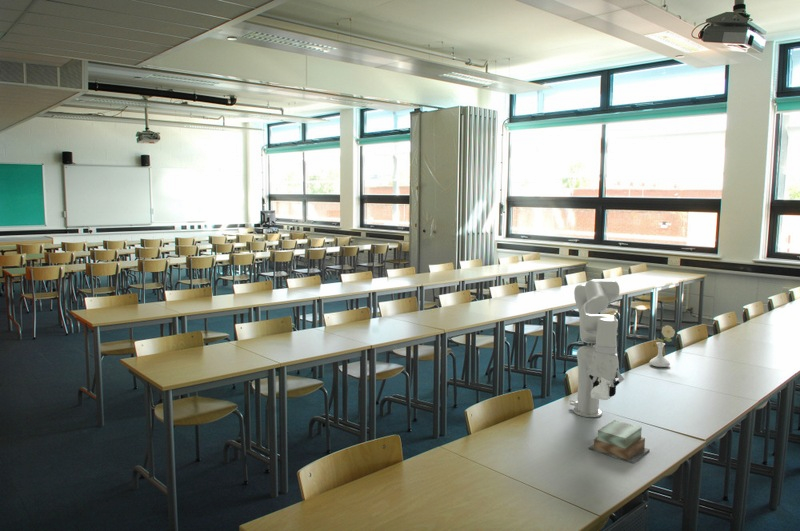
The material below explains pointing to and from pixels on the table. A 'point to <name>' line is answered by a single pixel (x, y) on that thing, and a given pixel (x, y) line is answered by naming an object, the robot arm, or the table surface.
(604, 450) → the sage layered slab
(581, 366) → the robot arm
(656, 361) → the flower in vase
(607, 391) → the bust
